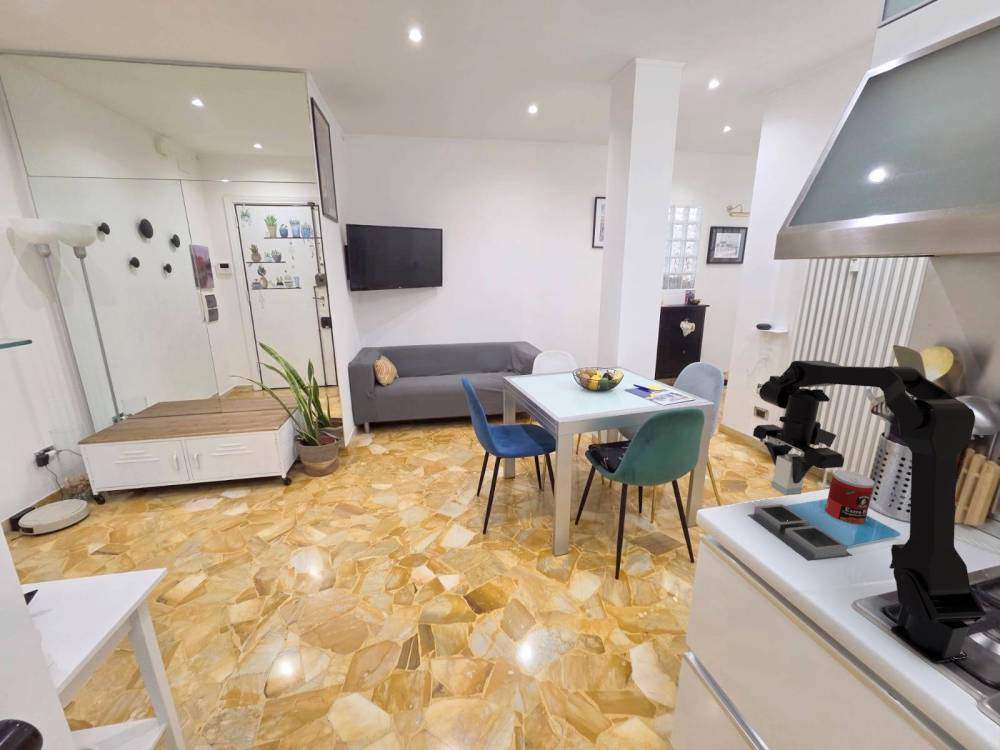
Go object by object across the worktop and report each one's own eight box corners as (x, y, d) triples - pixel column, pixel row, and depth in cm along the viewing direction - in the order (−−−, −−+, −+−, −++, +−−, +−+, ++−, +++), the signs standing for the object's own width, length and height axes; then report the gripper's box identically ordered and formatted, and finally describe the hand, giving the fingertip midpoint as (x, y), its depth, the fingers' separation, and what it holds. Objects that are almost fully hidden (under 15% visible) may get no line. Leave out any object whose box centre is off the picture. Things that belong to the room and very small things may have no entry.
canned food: (840, 526, 98) (850, 485, 95) (816, 508, 105) (825, 469, 103) (873, 527, 97) (884, 485, 95) (846, 509, 105) (856, 470, 103)
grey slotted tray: (852, 558, 86) (855, 546, 86) (807, 564, 85) (810, 551, 84) (785, 514, 103) (787, 503, 102) (746, 517, 101) (748, 506, 100)
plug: (800, 494, 94) (808, 458, 92) (785, 495, 94) (792, 459, 91) (786, 485, 98) (792, 450, 96) (771, 486, 97) (777, 451, 95)
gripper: (873, 428, 84) (857, 496, 87) (795, 401, 102) (784, 459, 105) (827, 431, 82) (812, 500, 86) (756, 403, 100) (746, 461, 104)
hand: (788, 478), depth 95 cm, fingers closed on plug, 4 cm apart
